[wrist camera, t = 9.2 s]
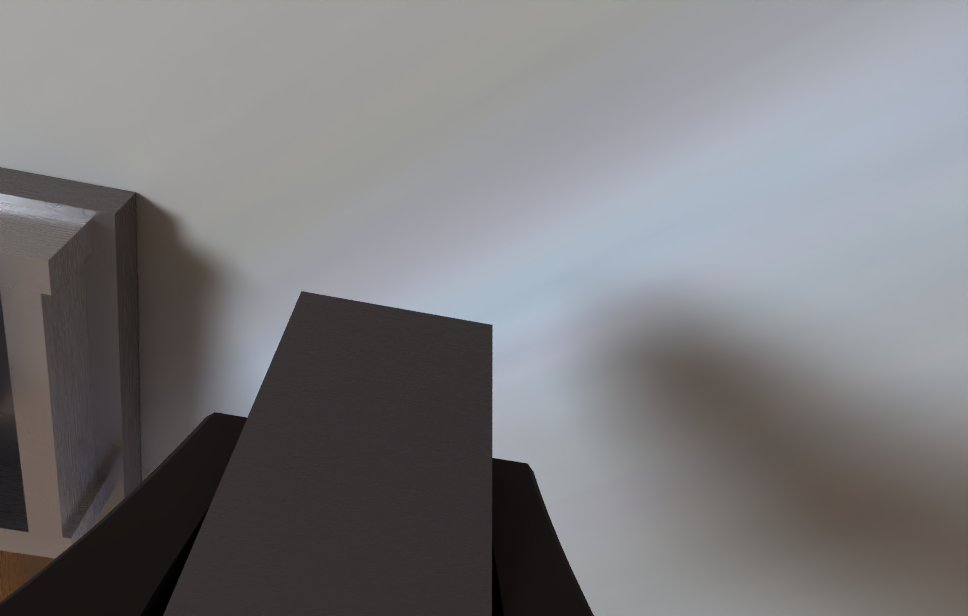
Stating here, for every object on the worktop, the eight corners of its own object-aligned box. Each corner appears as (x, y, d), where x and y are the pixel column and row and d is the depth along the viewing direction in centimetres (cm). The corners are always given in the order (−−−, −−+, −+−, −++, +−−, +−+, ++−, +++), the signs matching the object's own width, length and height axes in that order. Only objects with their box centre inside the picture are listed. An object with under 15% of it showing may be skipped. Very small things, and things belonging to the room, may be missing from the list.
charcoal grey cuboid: (457, 469, 13) (429, 988, 7) (286, 442, 13) (108, 955, 7) (492, 325, 12) (492, 815, 6) (300, 291, 12) (98, 766, 6)
